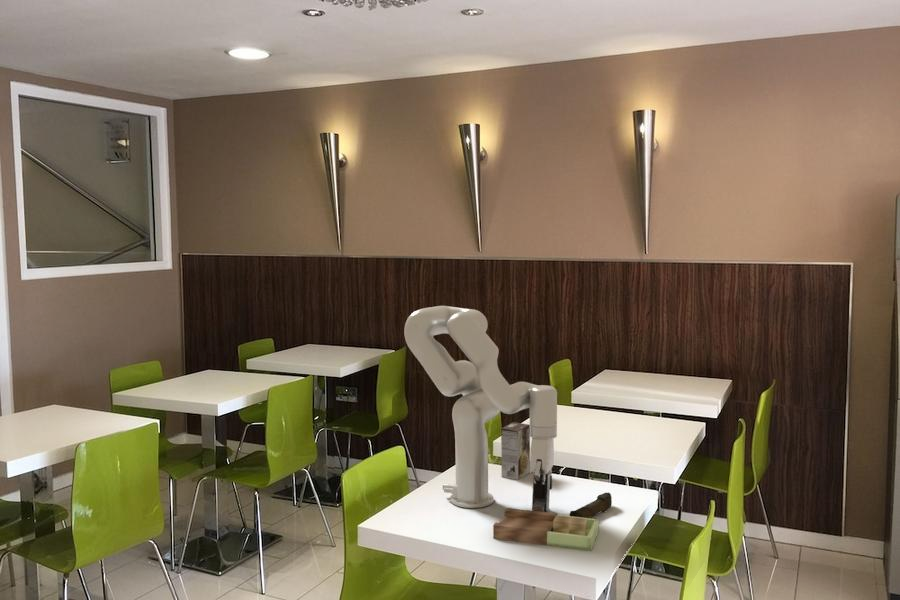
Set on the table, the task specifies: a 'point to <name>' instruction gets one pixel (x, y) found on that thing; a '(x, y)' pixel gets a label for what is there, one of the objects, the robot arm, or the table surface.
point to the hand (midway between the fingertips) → (543, 492)
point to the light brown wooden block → (578, 526)
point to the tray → (575, 536)
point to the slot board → (524, 526)
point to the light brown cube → (561, 524)
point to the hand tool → (594, 507)
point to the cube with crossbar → (539, 503)
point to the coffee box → (515, 450)
